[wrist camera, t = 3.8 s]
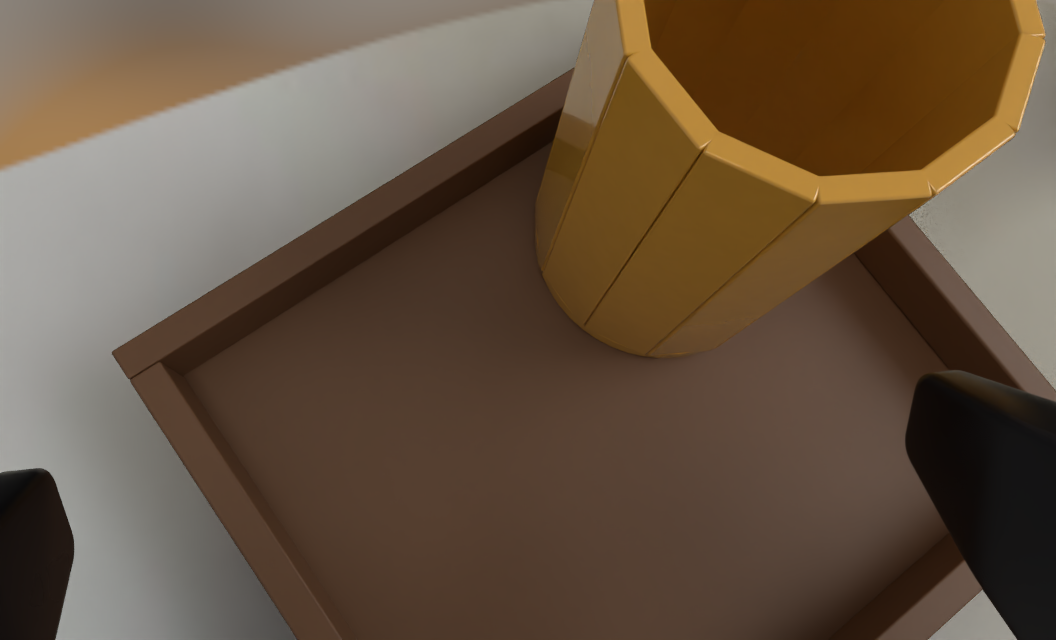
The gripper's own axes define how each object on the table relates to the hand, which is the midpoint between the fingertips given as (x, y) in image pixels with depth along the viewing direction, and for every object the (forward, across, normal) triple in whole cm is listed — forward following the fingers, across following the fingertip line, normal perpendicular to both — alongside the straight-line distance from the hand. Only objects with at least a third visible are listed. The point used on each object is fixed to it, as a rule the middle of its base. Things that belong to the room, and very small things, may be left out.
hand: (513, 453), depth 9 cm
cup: (+14, -6, +4) cm, 16 cm away
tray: (+12, -4, +8) cm, 15 cm away
